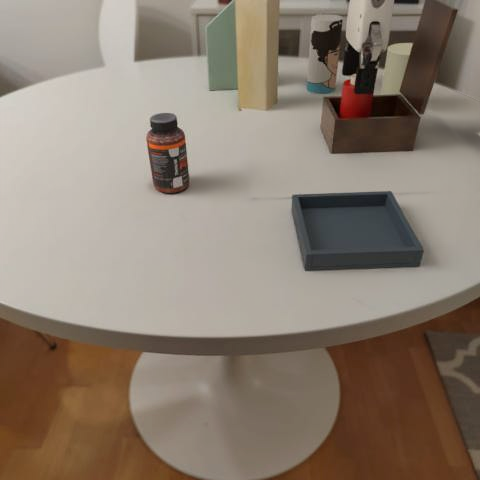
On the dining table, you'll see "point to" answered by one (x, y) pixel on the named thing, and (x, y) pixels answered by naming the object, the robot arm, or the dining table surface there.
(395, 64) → the can
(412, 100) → the chest lid
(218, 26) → the green magazine holder
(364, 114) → the ketchup bottle
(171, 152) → the supplement bottle
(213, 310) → the dining table surface
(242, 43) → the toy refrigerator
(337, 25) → the cup
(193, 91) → the dining table surface
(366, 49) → the robot arm
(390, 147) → the chest
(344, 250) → the tray
